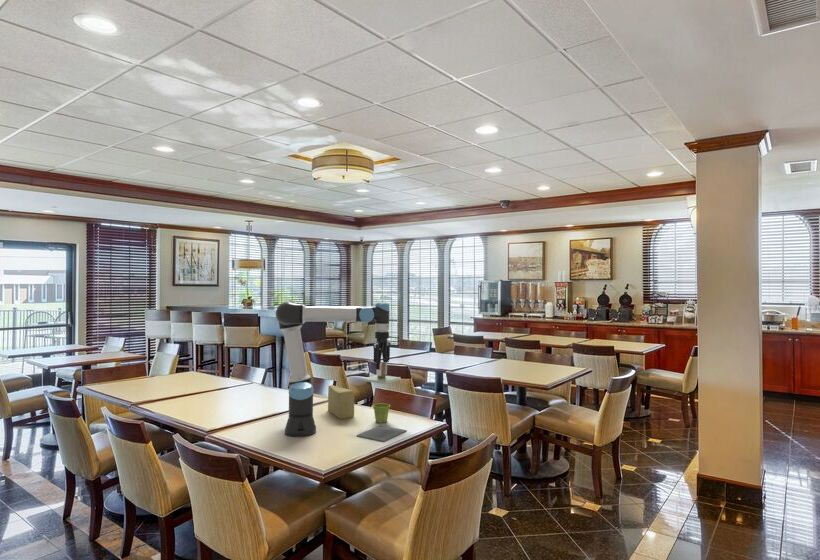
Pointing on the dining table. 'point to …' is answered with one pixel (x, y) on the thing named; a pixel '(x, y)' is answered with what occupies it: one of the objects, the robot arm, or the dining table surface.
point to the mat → (381, 433)
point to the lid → (382, 377)
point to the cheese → (341, 402)
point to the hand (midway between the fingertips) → (381, 374)
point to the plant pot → (381, 412)
